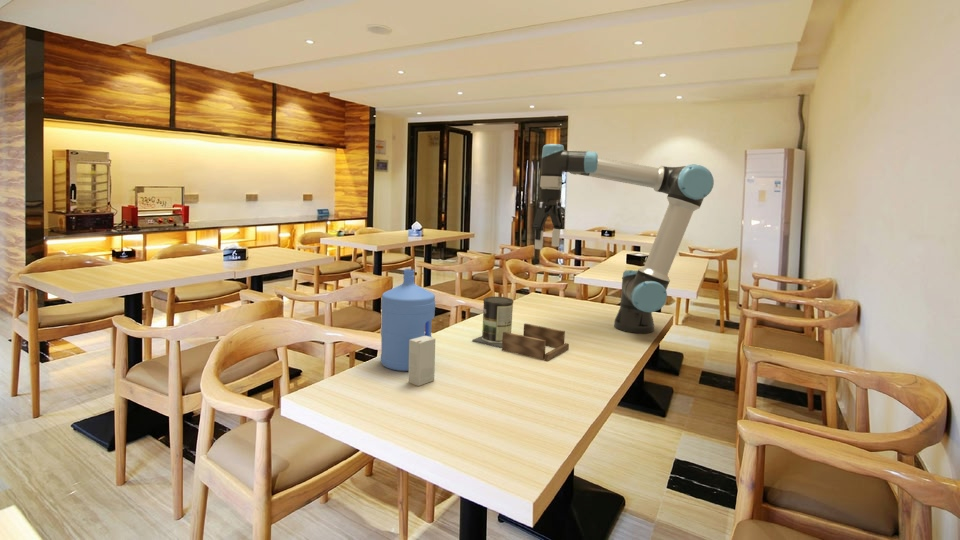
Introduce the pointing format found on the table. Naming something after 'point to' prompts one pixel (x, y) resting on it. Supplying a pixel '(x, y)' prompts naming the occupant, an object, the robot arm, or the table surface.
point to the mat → (479, 340)
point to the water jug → (404, 320)
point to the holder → (535, 342)
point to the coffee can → (496, 318)
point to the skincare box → (421, 360)
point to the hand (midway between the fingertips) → (547, 247)
